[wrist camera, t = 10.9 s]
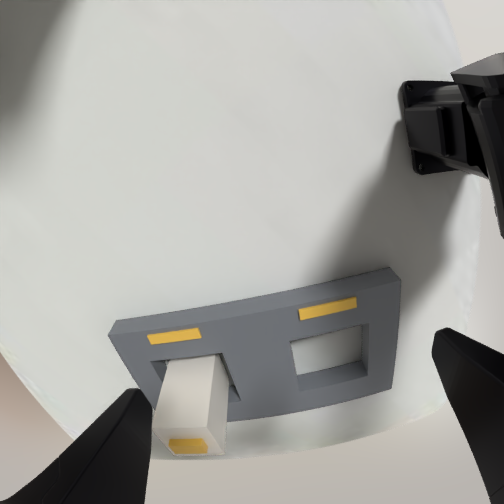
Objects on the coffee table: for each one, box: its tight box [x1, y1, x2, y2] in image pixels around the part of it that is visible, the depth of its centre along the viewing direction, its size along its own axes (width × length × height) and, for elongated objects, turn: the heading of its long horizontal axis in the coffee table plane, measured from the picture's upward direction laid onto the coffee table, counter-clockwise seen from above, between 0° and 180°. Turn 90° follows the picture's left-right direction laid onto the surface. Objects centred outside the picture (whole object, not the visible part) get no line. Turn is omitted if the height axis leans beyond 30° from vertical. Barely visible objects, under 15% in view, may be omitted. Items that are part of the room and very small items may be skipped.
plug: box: [152, 353, 229, 456], centre depth 21 cm, size 4×4×9 cm
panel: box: [108, 267, 401, 422], centre depth 23 cm, size 22×12×2 cm, turn 103°
